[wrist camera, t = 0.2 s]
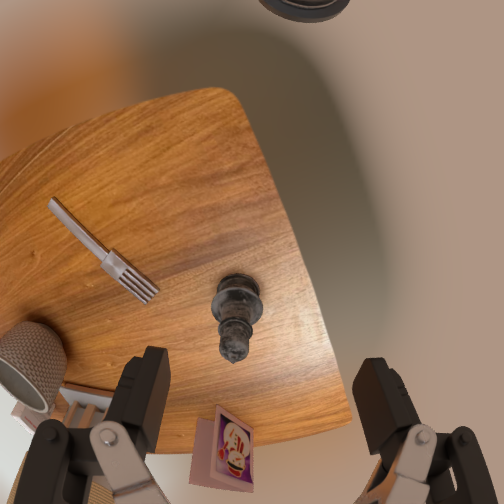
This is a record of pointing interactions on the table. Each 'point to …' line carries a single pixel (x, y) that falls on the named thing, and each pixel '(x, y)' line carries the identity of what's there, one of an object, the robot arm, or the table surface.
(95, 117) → the table surface
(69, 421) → the desk lamp
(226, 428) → the greeting card
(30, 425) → the ink box
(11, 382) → the planter
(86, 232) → the fork
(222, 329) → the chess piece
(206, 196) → the table surface
